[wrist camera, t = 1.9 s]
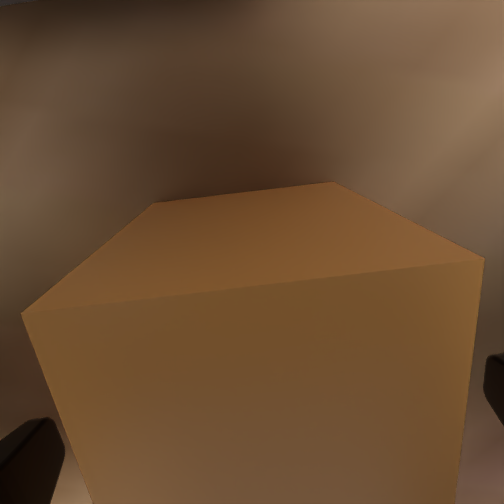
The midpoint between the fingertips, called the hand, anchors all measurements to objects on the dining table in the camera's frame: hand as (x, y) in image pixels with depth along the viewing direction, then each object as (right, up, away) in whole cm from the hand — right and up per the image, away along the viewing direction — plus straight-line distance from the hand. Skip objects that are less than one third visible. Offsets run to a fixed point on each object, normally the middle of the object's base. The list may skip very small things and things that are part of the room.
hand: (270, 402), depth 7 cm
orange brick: (0, +1, +2) cm, 2 cm away
